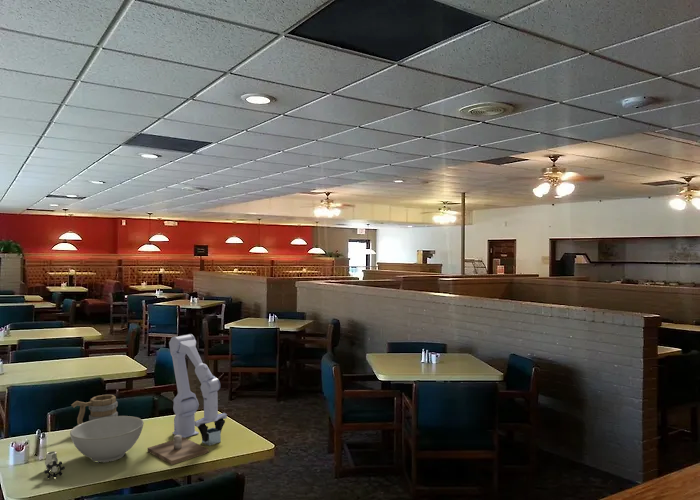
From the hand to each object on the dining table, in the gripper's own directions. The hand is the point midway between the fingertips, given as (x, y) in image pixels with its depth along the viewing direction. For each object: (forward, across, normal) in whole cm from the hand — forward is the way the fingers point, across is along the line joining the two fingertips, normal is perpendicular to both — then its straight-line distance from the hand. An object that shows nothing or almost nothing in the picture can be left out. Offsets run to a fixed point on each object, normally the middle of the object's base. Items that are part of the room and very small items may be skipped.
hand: (211, 439), depth 228 cm
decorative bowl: (+2, -36, +18) cm, 40 cm away
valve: (+2, -56, +18) cm, 59 cm away
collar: (+1, 0, 0) cm, 1 cm away
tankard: (+2, -27, +55) cm, 61 cm away
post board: (+1, -15, +1) cm, 15 cm away
